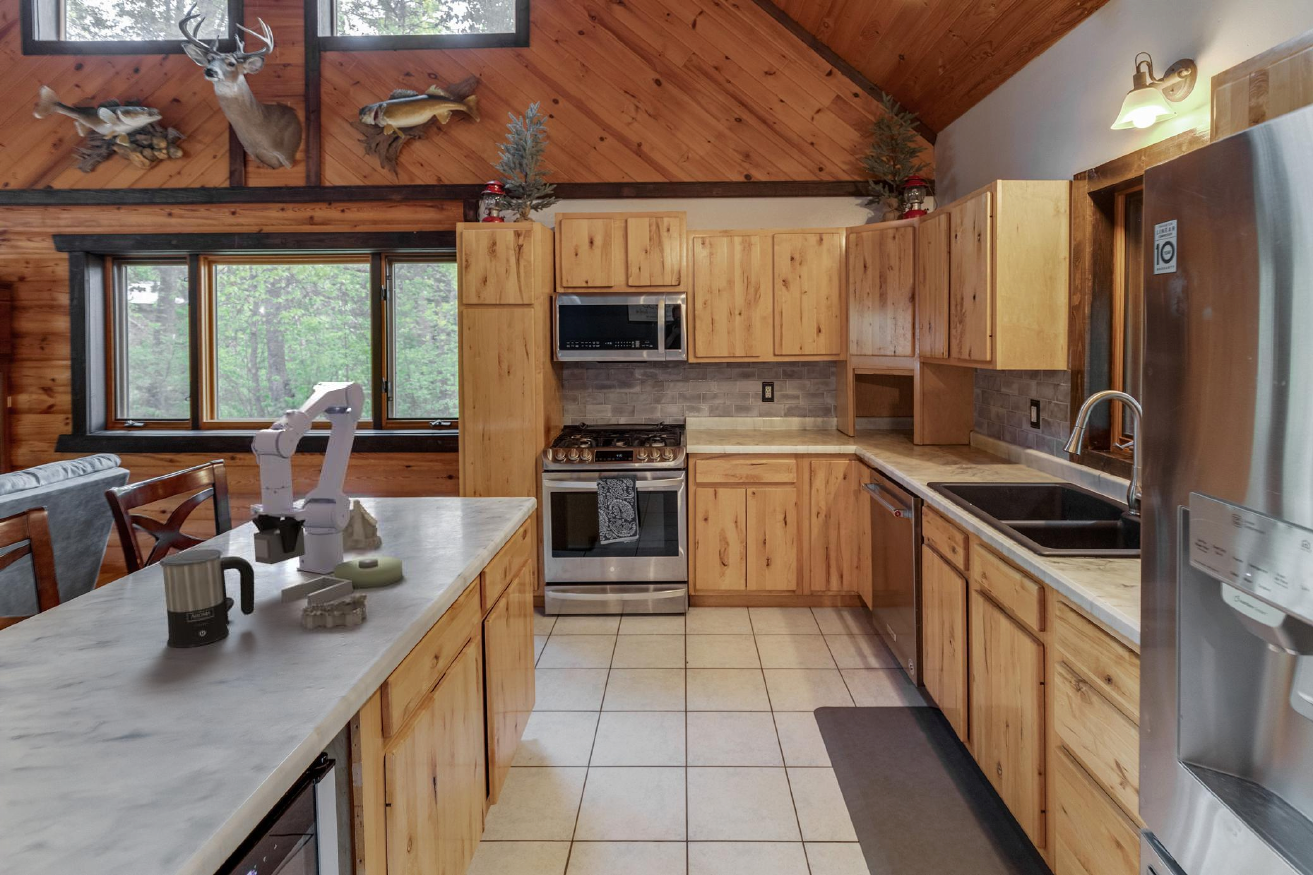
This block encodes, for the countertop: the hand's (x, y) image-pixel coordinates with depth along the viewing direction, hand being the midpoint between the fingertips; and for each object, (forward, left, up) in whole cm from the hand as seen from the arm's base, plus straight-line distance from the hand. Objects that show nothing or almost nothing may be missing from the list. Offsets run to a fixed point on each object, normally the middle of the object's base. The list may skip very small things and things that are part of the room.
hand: (280, 550), depth 153 cm
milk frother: (+7, -22, -9) cm, 25 cm away
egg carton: (+25, -9, -9) cm, 28 cm away
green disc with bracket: (+11, +7, -8) cm, 15 cm away
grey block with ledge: (0, 0, -2) cm, 2 cm away
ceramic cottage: (-17, +35, -9) cm, 40 cm away
